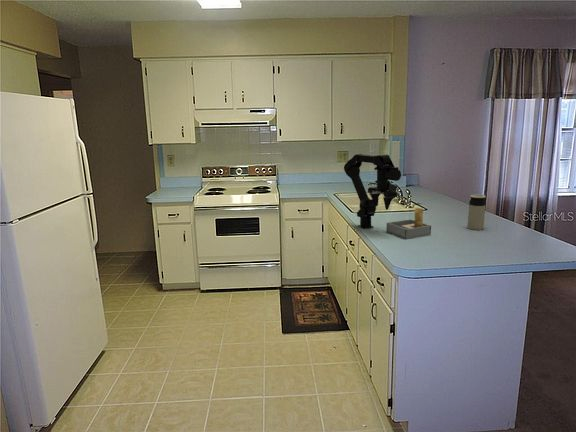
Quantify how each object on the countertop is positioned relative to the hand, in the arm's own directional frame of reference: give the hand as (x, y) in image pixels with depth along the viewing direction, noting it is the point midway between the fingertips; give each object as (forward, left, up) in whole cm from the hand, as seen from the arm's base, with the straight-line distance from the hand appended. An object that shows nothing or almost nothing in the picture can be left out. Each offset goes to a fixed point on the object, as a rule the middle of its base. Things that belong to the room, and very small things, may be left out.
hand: (381, 207), depth 218 cm
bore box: (+10, +10, -13) cm, 19 cm away
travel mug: (+19, +48, -13) cm, 53 cm away
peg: (+13, +14, -12) cm, 22 cm away
